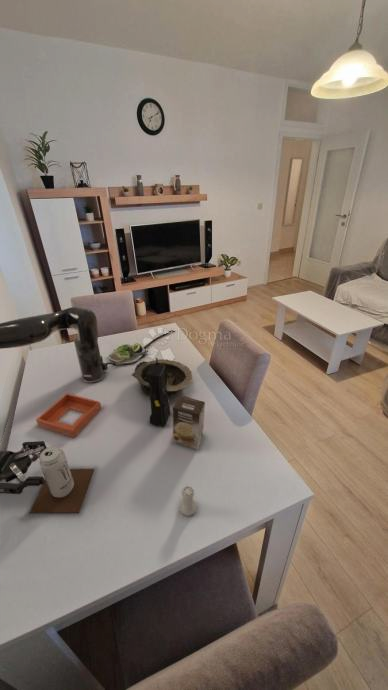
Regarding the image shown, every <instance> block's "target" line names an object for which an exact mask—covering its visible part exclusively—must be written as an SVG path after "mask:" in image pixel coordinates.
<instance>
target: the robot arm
mask: <svg viewBox="0 0 388 690" xmlns="http://www.w3.org/2000/svg"><path fill="white" fill-rule="evenodd" d="M69 329H73V330H76V331H78V335H77V336H76V337H75V338H74V340H73V343H74V347H75V352H76V357H77V360H78V365H79V369H80V374H81V380H82V381H83V382H84V383H86V384H93V383H98V382H100V381H102V380H103V379H104V377H105V374H106V371H107V370H108V369H109V367H108V366H109V365H111V366H117V365H116V362H104V359H103V356H102V354H101V352H100V347H99V340H98V339H99V326H98V318H97V315H96V313H95V312H94V310H91V309H88V308H84V307H80V306H72V307H68V308H65V309H62V310H59V311H55V312H50V313H44V314H39V315H38V314H37V315H33V316H32V315H31V316H26V317H21V318H16V319H12V320H9V321H8V320H7V321H4V322H0V350H3V349H12V348H14V349H15V348H20V347H21V348H22V347H27V346H30V345H35V344H37V343H41V342H43V341H45V340H46V339H48V338H49V337H51V336H52V335H53V334H54V333H56V332H58V331H63V330H69ZM173 330H174V329H171V330H169V331H168V332H169V333H167V332H165V333H166V334H165V333H163V334H161V335H158V336H157V337H155V338H154V339H152V340H151V341H149V343H147V344H146V345H144V346H143V348H144V349H145V350H146V348H147V347H148V346H150V345H151V344H152V343H153V342H155V341H157V340H158V339H160V338H162V337H164V336H167V335H168V334H170V333H176V331H175V330H174V331H173ZM171 331H172V332H171ZM131 357H132V356H131ZM21 445H22V448H21V449H20V450H19V451H12V450H0V494H3V495H4V494H5V495H6V494H7V495H21V494H22V493H23V491H24V490H25V488H28V487H40V486H42V485H43V484H44V482H45V480H46V479H45V477H44V476H41V475H40V476H39V475H38V476H37V475H35V476H27V477H26V474H27V472H28V470H29V468H30V466H31V465H32V463H33V462H35V461H38V459H40V455H41V453H42V451H43V450H45V449H46V448H47V446H46V445H47V444H46V443H45V441H43V440H41V441H40V440H38V441H25V442H23V443H22V444H21ZM15 479H16V480H17V481H18V483H17V482H16V483H13V482H12V481H14V480H15ZM11 482H12V483H11Z"/></svg>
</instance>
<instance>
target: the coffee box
mask: <svg viewBox="0 0 388 690" xmlns="http://www.w3.org/2000/svg"><path fill="white" fill-rule="evenodd" d="M205 403H206V402H205V401H203V400H199V399H195V398H191V397H189V396H185V395H181V394H179V395H178V397H177V398H176V400H175V402H174V405H173V406H172V438H173V439H172V442H173V443H174V444H177V445H180V446H184V447H187V448H190V449H193V450H197V451H198V449H199V447H200V445H201V442H202V439H203V436H204V423H205V419H204V418H205V406H206V405H205Z"/></svg>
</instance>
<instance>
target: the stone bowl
mask: <svg viewBox="0 0 388 690" xmlns="http://www.w3.org/2000/svg"><path fill="white" fill-rule="evenodd" d="M157 362H158V364H163V365H165V367H166V376H167V386H166V387H167V393H168V399H170V398H172V397H174V396H176V395H178V393H179V392H180V391H181V390H182V389H183V388H185V387H187V386H188V385H190V384H191V382H192V381H193V380H194V378H193V374H192V371H191V369H190V368H189V367H188V366H187V365H184V364H183V363H181V362H179V361H176V360H169V359H163V358H161V359H159V358H158V359H157ZM151 364H156V359H154V360H149V361H145V360H143V361H140V362H139V363H138V364H136V366H135V368H134V372H133V373H131V377H133V378H134V379H136V380H137V381H138V383H139V384H140V389H141V392H142V393H143V395H146V396H150V390H149V382H148V381H146V372H147V371H148V369H149V368H150V366H151Z"/></svg>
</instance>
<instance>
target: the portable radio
mask: <svg viewBox="0 0 388 690" xmlns="http://www.w3.org/2000/svg"><path fill="white" fill-rule="evenodd" d="M155 360H156V364H151V366H150V368H149V369H148V371H147V372H146V381H148V382H149V390H150V395H149V400H150V402H149V403H150V410H151V411H150V416H149V424H150V425H153V426H157V427H165V426H166V425H167V423H168V421H169V418H170V416H171V409H170V400H169V399H170V398H168V393H167V387H166V386H167V376H166V367H165V365H163V364H158V362H157V360H159V358H157V357H156V358H155Z"/></svg>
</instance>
